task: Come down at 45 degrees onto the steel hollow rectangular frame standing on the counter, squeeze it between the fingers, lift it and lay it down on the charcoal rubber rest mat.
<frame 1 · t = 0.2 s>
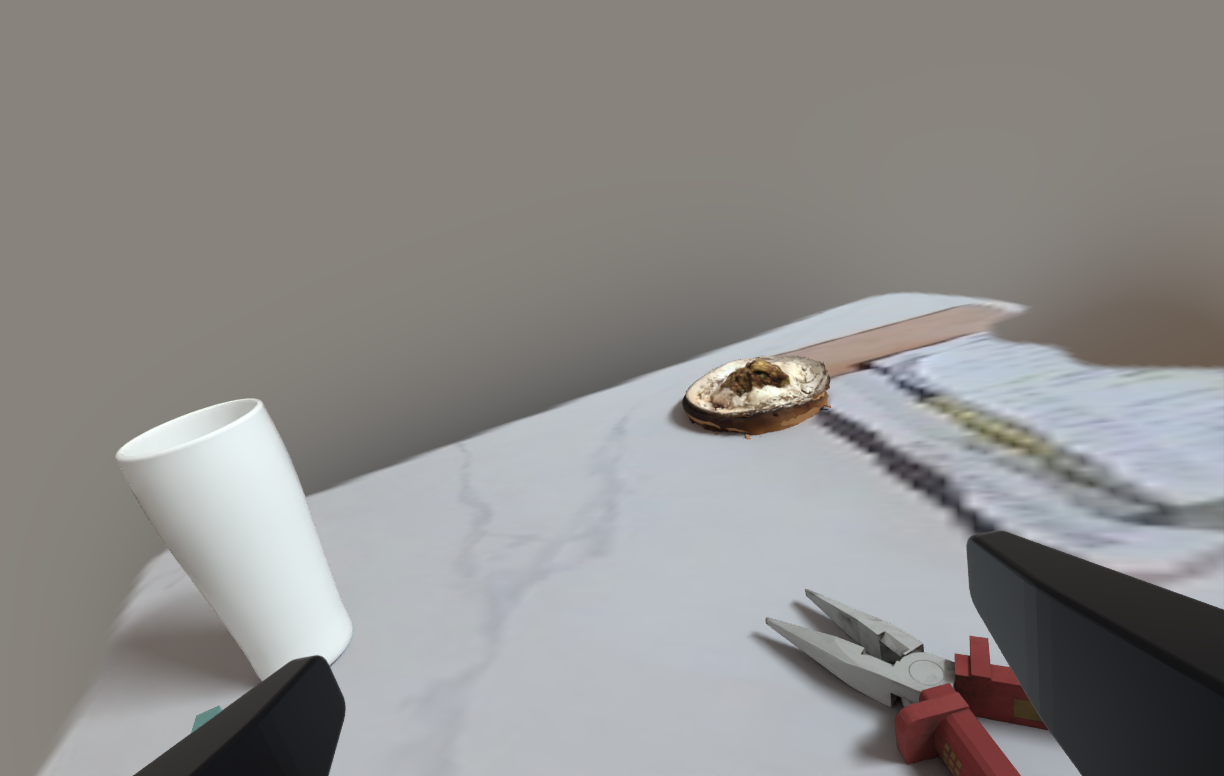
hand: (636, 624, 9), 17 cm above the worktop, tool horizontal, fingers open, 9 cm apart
pie: (758, 409, 54), on the worktop
pliers: (1065, 759, 22), on the worktop
drinking glass: (311, 657, 36), on the worktop
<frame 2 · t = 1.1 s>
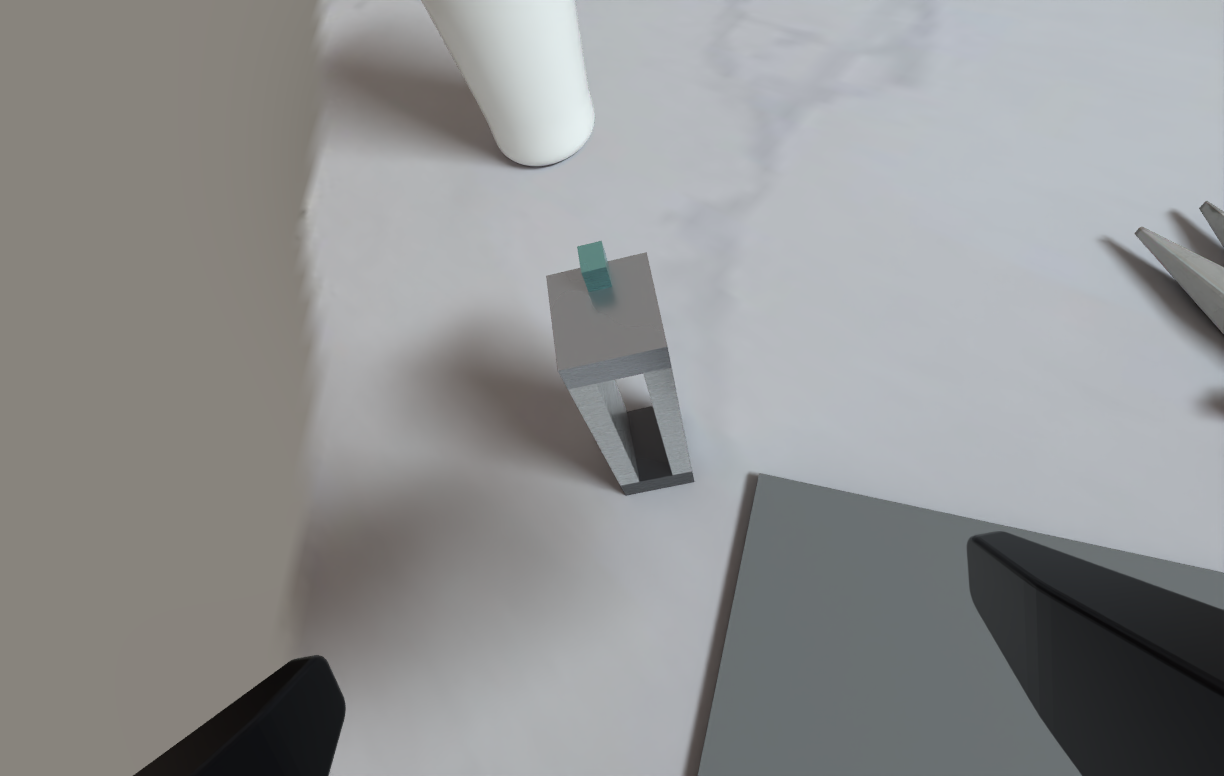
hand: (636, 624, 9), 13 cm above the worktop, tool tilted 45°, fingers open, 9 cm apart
drinking glass: (548, 137, 33), on the worktop
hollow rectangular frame: (653, 454, 24), on the worktop
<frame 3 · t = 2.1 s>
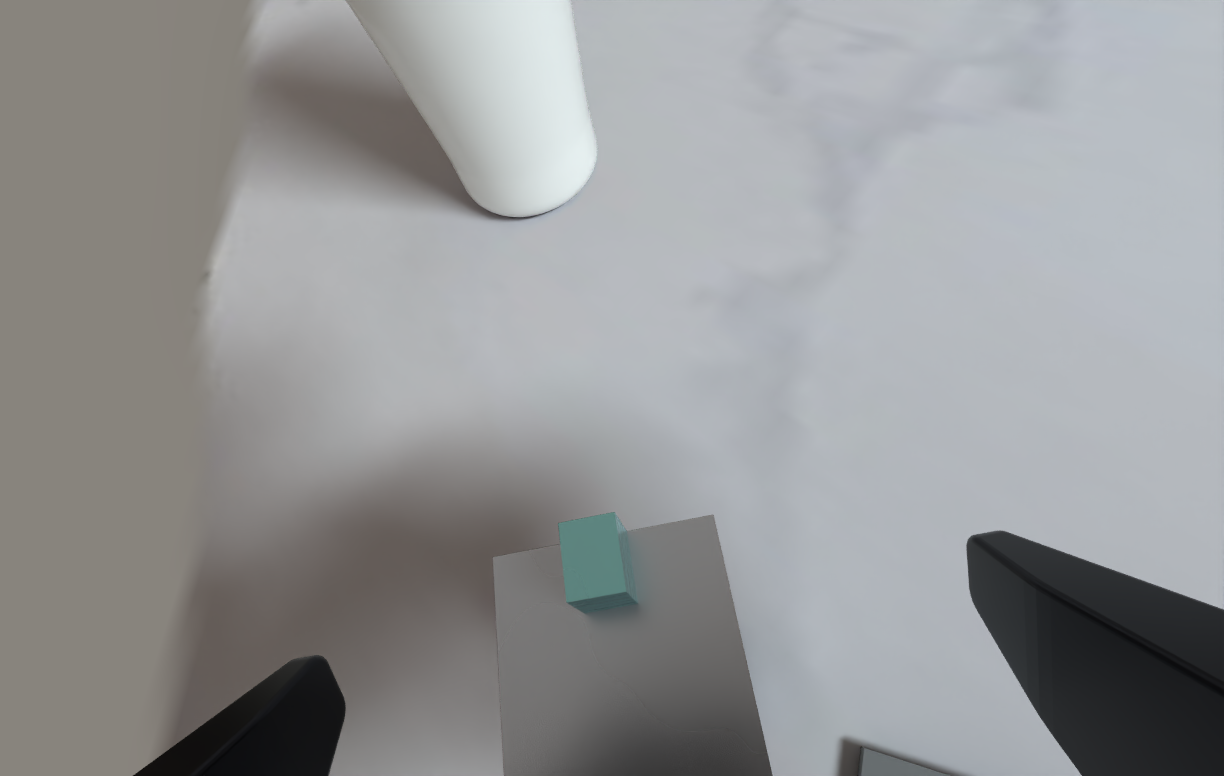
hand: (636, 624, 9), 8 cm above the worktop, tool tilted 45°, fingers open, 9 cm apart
drinking glass: (535, 175, 24), on the worktop
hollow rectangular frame: (688, 690, 15), on the worktop
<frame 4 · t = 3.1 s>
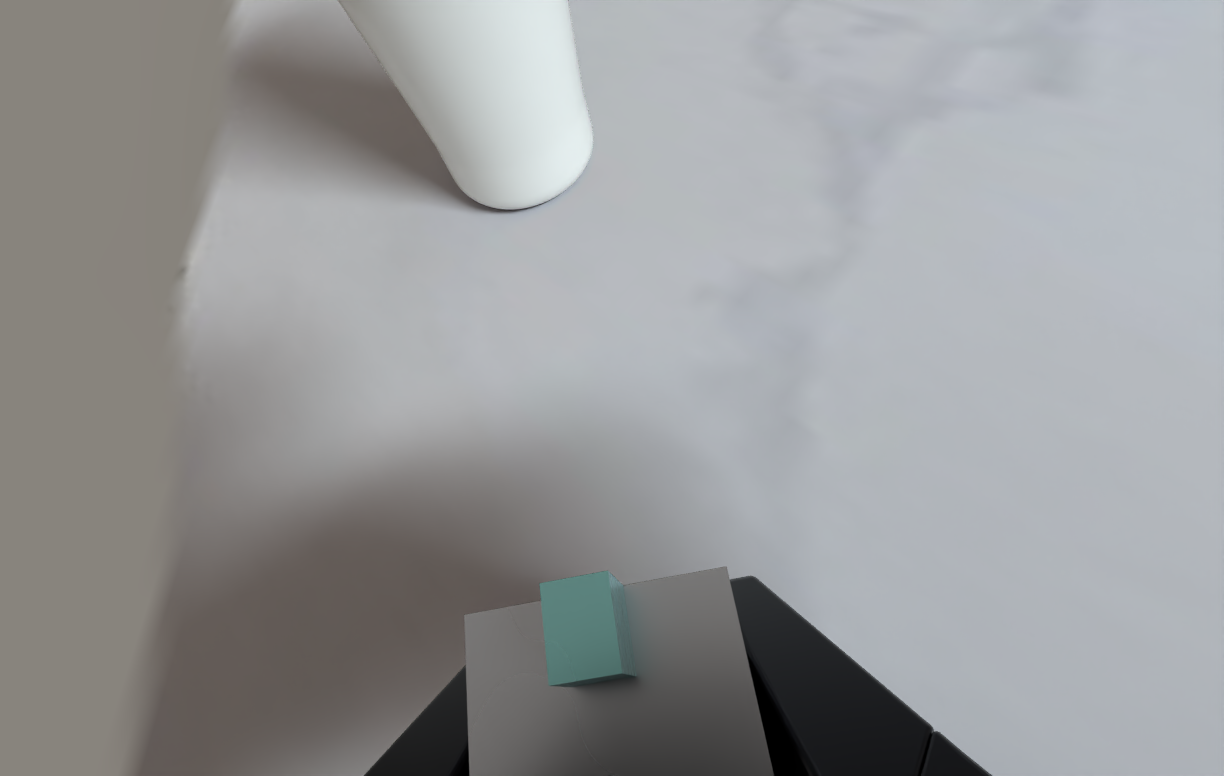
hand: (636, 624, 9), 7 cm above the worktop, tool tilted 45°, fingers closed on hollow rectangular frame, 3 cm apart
drinking glass: (528, 165, 23), on the worktop
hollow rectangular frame: (690, 720, 14), on the worktop, touching gripper
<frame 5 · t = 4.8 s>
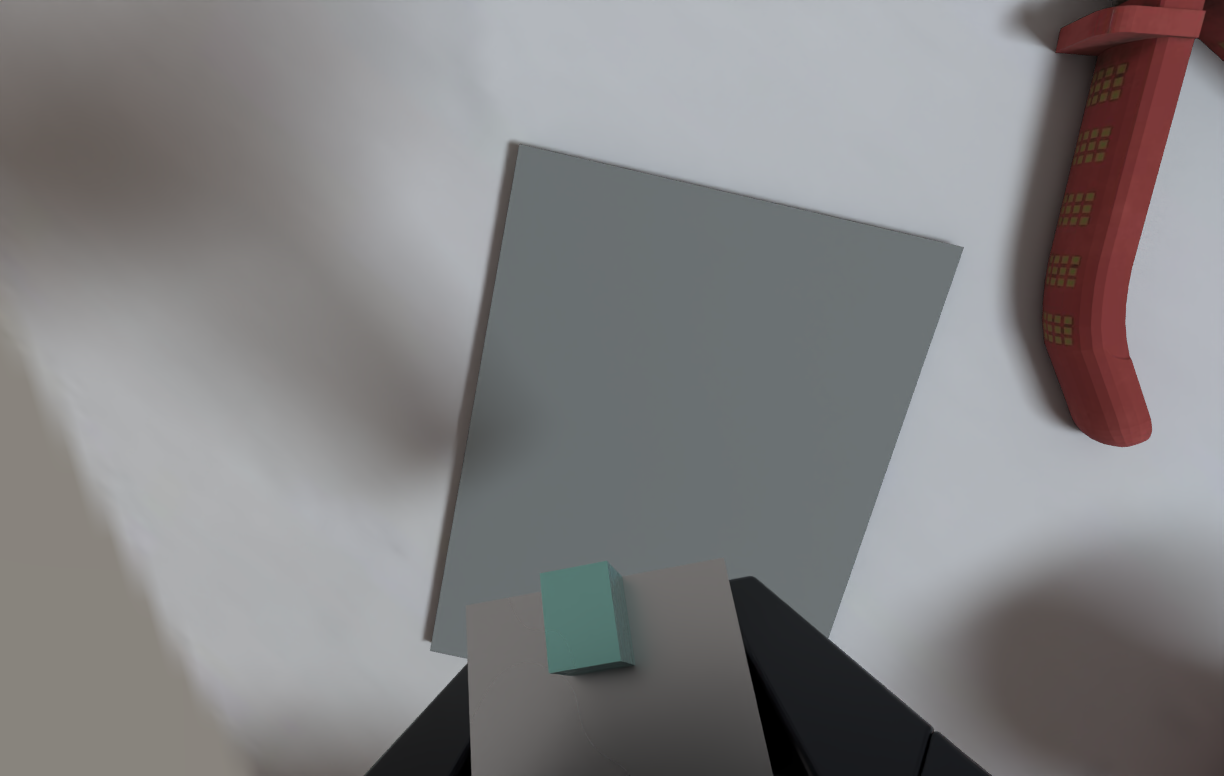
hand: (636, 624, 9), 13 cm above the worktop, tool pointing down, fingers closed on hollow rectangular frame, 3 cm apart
pliers: (1207, 100, 19), on the worktop
rest mat: (672, 462, 22), on the worktop
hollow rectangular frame: (689, 714, 14), point 8 cm above the worktop, tilted 40°, touching gripper
when the fingers open (7 cm above the worktop, at t = 6.1 s): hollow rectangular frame moves 1 cm and tips over, resting on rest mat.
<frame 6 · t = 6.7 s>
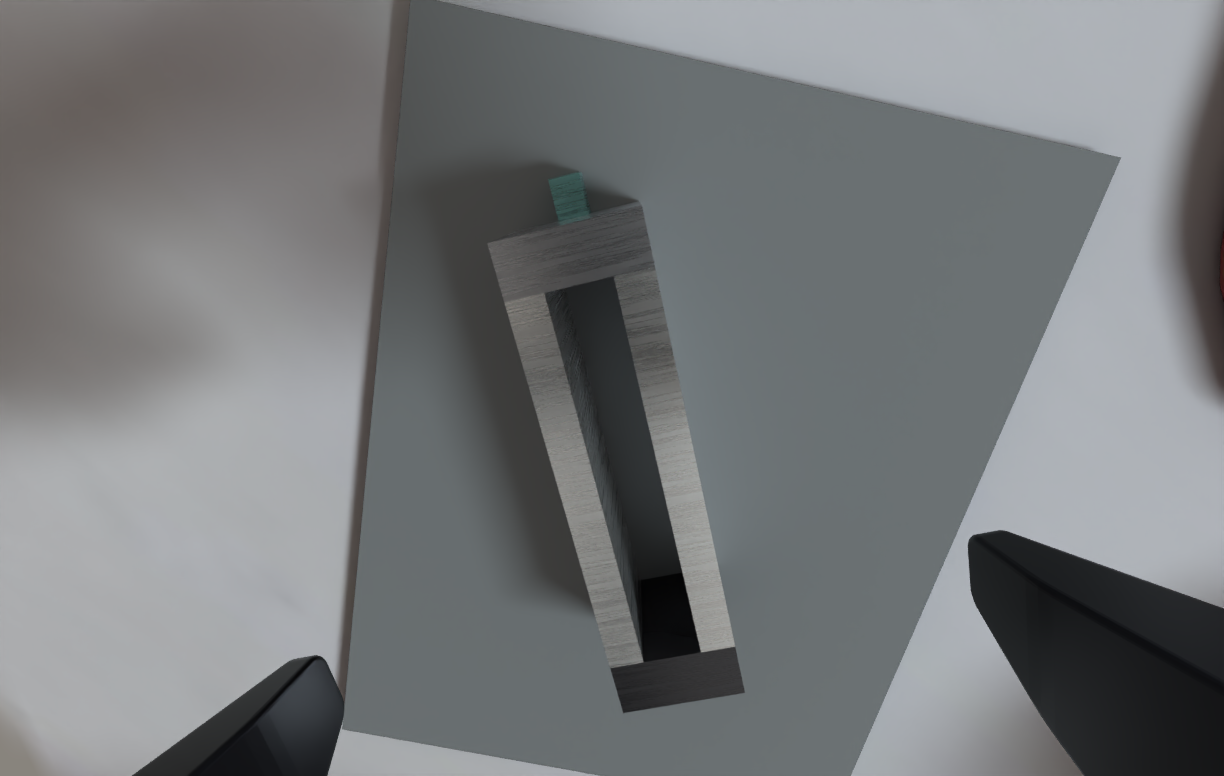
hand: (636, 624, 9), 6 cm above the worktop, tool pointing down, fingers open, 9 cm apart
rest mat: (664, 484, 15), on the worktop
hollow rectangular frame: (678, 655, 14), point 2 cm above the worktop, tilted 90°, touching rest mat
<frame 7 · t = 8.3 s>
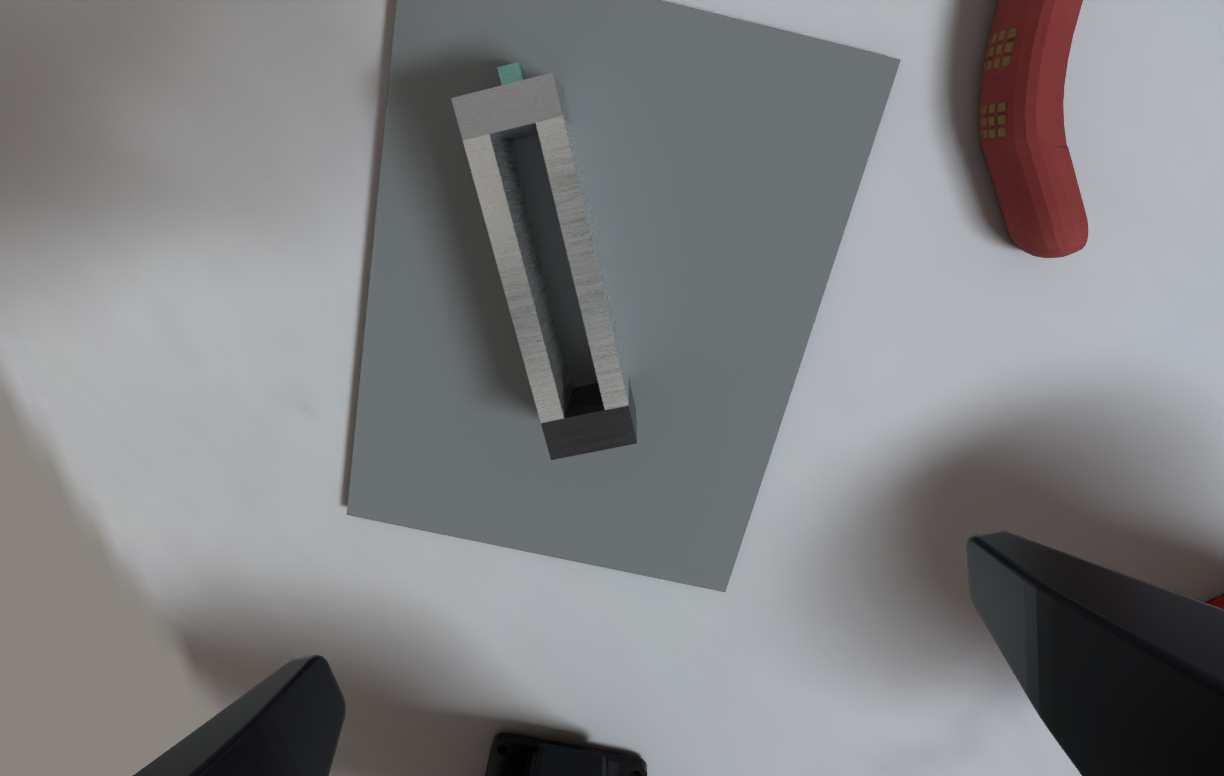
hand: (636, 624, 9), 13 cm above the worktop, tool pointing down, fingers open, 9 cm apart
rest mat: (589, 313, 20), on the worktop
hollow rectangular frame: (596, 433, 20), point 2 cm above the worktop, tilted 90°, touching rest mat
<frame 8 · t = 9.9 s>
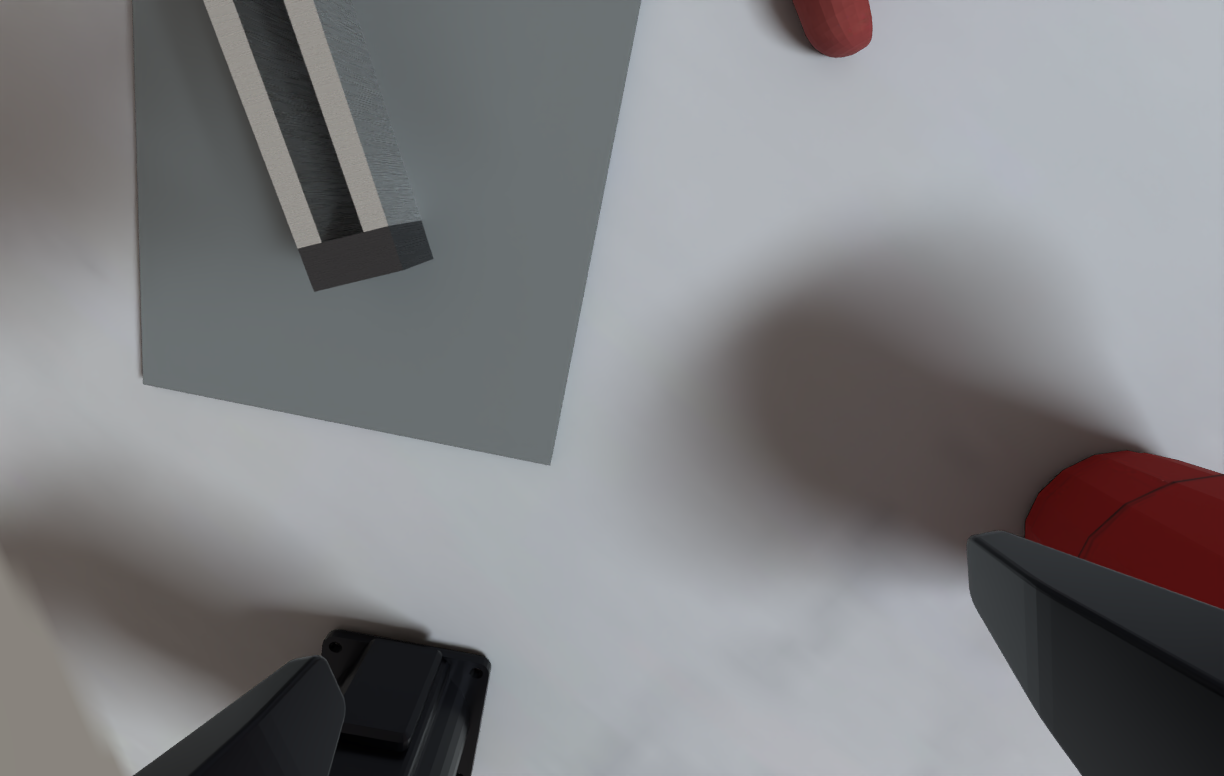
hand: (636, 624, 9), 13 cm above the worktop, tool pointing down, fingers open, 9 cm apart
rest mat: (377, 151, 19), on the worktop
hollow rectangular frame: (377, 274, 18), point 2 cm above the worktop, tilted 90°, touching rest mat
plastic cup: (1106, 517, 23), on the worktop
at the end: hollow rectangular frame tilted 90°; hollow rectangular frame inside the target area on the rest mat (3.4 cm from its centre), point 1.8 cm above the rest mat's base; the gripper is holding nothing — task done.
